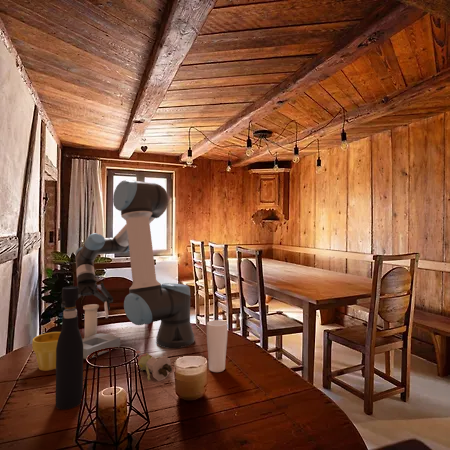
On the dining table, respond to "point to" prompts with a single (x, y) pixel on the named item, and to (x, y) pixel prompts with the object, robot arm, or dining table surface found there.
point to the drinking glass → (216, 344)
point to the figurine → (154, 365)
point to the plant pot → (46, 350)
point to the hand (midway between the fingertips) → (89, 318)
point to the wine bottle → (69, 355)
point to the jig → (99, 343)
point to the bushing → (90, 319)
